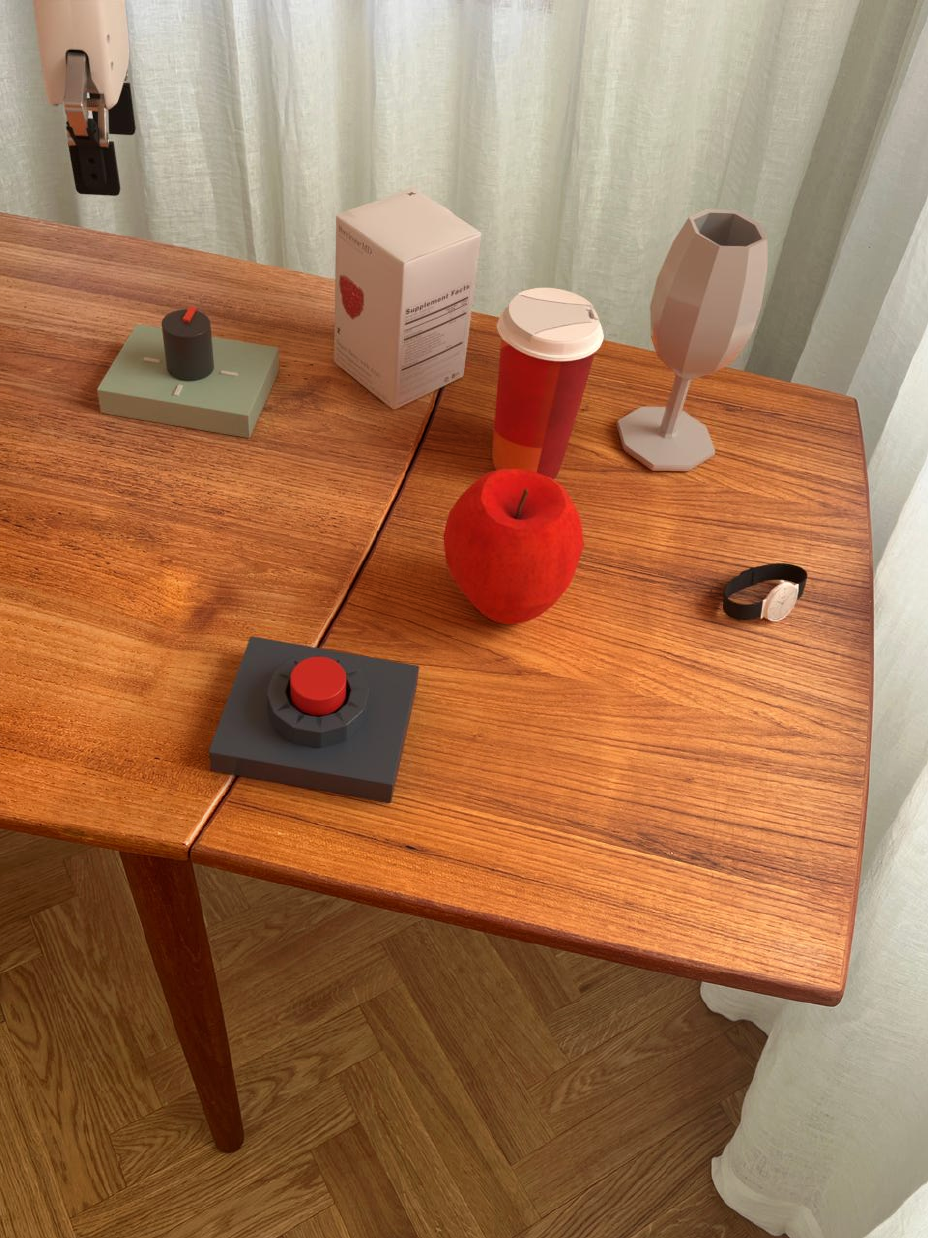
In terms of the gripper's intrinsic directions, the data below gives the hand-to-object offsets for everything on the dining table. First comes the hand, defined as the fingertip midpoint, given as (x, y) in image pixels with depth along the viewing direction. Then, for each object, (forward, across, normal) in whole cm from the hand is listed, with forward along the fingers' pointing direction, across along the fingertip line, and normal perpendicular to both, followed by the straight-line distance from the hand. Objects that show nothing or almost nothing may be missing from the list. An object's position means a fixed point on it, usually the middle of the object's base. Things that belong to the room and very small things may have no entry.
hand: (107, 161), depth 87 cm
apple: (+18, +30, +31) cm, 47 cm away
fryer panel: (+18, +5, +6) cm, 20 cm away
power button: (+14, +42, +17) cm, 47 cm away
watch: (+18, +30, +51) cm, 62 cm away
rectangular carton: (+18, +1, +24) cm, 30 cm away
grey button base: (+18, +42, +17) cm, 48 cm away
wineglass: (+18, +10, +47) cm, 52 cm away
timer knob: (+15, +5, +6) cm, 17 cm away
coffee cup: (+18, +14, +34) cm, 41 cm away
